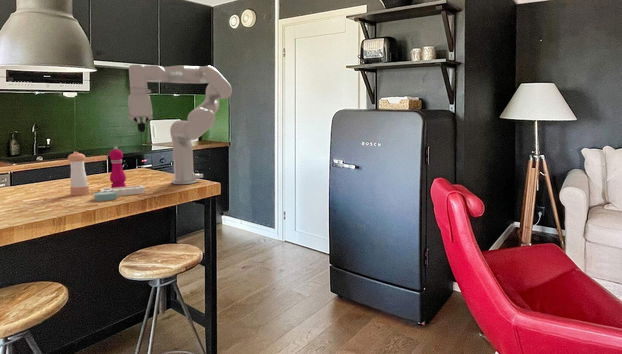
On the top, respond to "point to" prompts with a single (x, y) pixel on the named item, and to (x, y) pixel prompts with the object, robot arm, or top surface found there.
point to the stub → (105, 196)
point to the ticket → (126, 190)
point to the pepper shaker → (78, 174)
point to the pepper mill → (117, 169)
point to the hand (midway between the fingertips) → (141, 131)
